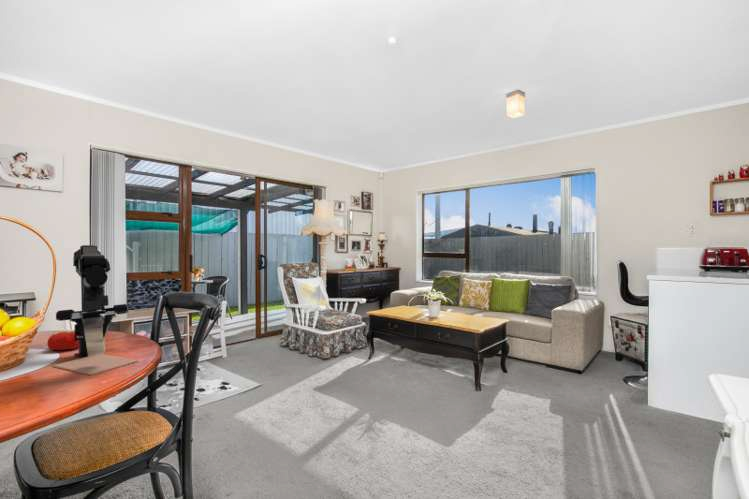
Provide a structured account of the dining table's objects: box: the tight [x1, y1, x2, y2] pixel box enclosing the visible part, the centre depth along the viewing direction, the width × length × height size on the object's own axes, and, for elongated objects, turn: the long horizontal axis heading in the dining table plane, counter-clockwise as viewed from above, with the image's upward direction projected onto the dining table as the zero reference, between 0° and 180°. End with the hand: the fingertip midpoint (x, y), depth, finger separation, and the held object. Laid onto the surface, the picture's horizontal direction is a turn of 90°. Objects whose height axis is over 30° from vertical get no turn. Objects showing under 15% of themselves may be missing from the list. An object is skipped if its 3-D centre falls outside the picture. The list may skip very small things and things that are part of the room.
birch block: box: [84, 316, 106, 356], centre depth 121 cm, size 4×4×12 cm
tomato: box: [46, 331, 79, 351], centre depth 144 cm, size 10×11×7 cm
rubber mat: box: [52, 354, 139, 377], centre depth 126 cm, size 21×15×1 cm
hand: (94, 338), depth 120 cm, fingers closed on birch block, 4 cm apart
